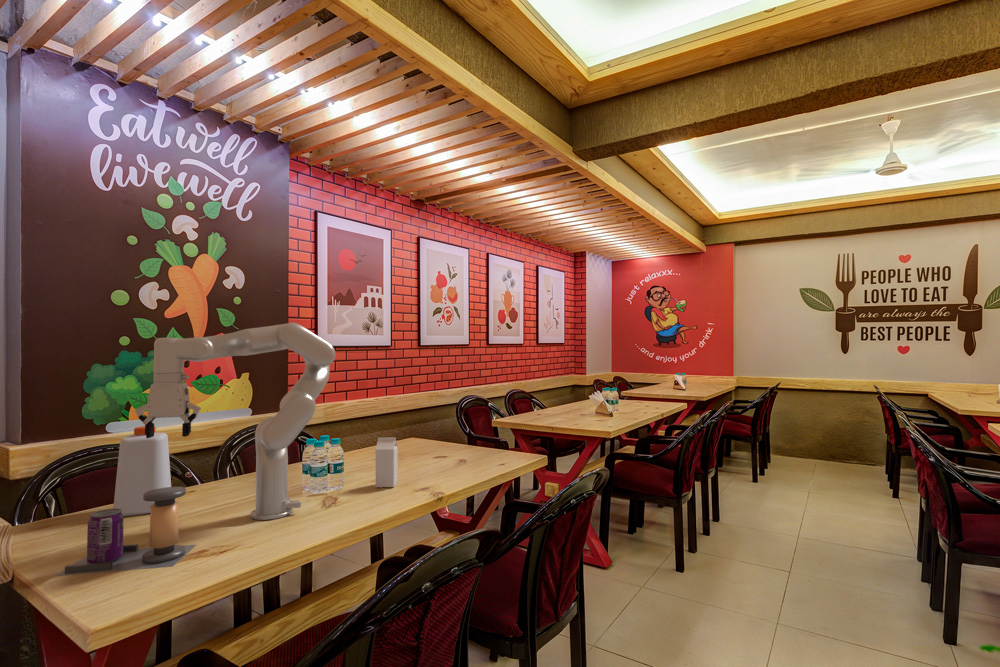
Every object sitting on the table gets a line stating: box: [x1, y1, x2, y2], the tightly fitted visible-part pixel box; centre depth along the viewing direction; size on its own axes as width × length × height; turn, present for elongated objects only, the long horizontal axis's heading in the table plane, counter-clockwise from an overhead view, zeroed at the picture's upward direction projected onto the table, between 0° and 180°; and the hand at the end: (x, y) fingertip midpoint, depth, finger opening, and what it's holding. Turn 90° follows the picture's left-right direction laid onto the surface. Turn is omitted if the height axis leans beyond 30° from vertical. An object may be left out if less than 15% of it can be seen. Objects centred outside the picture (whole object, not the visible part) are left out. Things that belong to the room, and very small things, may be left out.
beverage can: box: [86, 508, 125, 564], centre depth 124 cm, size 7×7×12 cm
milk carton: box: [375, 436, 399, 488], centre depth 197 cm, size 7×7×19 cm
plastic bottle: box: [112, 425, 172, 517], centre depth 170 cm, size 15×15×28 cm
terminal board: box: [54, 543, 197, 577], centre depth 125 cm, size 25×14×3 cm, turn 100°
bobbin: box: [142, 486, 187, 564], centre depth 127 cm, size 9×9×16 cm
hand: (168, 436), depth 147 cm, fingers open, 9 cm apart
